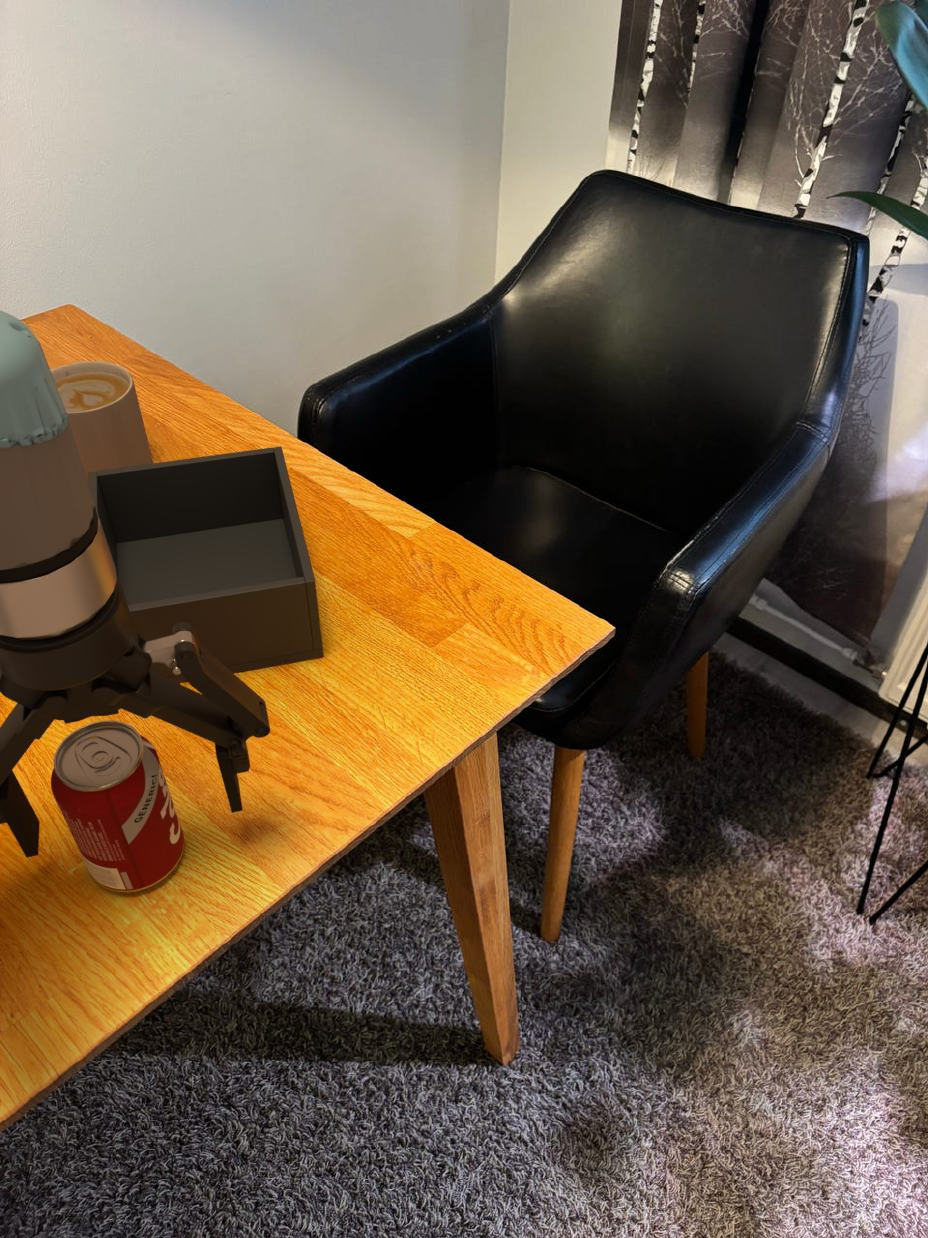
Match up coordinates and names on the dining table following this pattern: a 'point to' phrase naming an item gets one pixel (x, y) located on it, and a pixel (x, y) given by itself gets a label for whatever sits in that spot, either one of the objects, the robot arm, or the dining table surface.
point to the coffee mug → (103, 415)
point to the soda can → (117, 805)
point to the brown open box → (213, 555)
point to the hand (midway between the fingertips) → (136, 817)
